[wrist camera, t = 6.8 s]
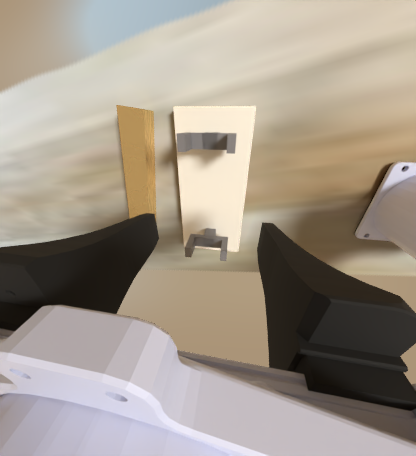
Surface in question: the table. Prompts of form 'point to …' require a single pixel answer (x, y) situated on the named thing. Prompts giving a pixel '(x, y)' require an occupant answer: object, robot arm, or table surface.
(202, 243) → the hook stand
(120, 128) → the wooden bar
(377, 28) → the table surface
